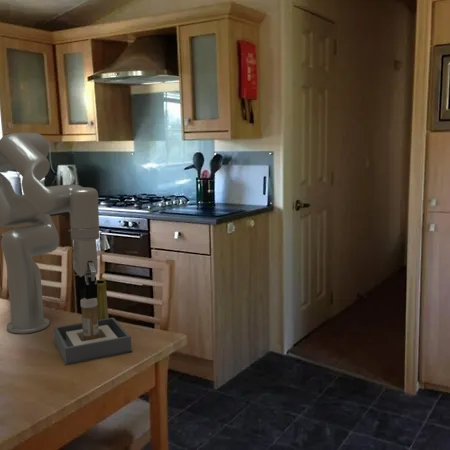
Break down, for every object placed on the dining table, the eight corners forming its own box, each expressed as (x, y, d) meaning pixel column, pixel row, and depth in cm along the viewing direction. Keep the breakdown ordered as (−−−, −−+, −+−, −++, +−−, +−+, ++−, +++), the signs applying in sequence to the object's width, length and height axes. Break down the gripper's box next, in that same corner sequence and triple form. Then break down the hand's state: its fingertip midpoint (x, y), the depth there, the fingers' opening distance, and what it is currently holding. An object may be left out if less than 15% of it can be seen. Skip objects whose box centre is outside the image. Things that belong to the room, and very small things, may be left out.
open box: (54, 342, 157) (53, 327, 156) (114, 331, 165) (113, 317, 164) (66, 365, 142) (65, 348, 141) (131, 352, 149) (130, 336, 148)
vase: (111, 322, 173) (109, 279, 170) (105, 329, 167) (103, 284, 164) (93, 322, 173) (90, 279, 171) (86, 329, 167) (84, 284, 165)
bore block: (66, 341, 156) (65, 331, 155) (107, 334, 161) (107, 324, 160) (74, 356, 145) (74, 346, 145) (118, 348, 150) (118, 338, 150)
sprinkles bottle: (102, 345, 153) (99, 299, 150) (86, 349, 150) (83, 302, 148) (96, 340, 156) (93, 295, 154) (81, 343, 154) (78, 298, 152)
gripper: (65, 228, 154) (67, 286, 157) (77, 240, 138) (80, 304, 142) (91, 226, 157) (93, 283, 160) (106, 238, 142) (108, 300, 145)
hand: (87, 293), depth 151 cm, fingers open, 9 cm apart
